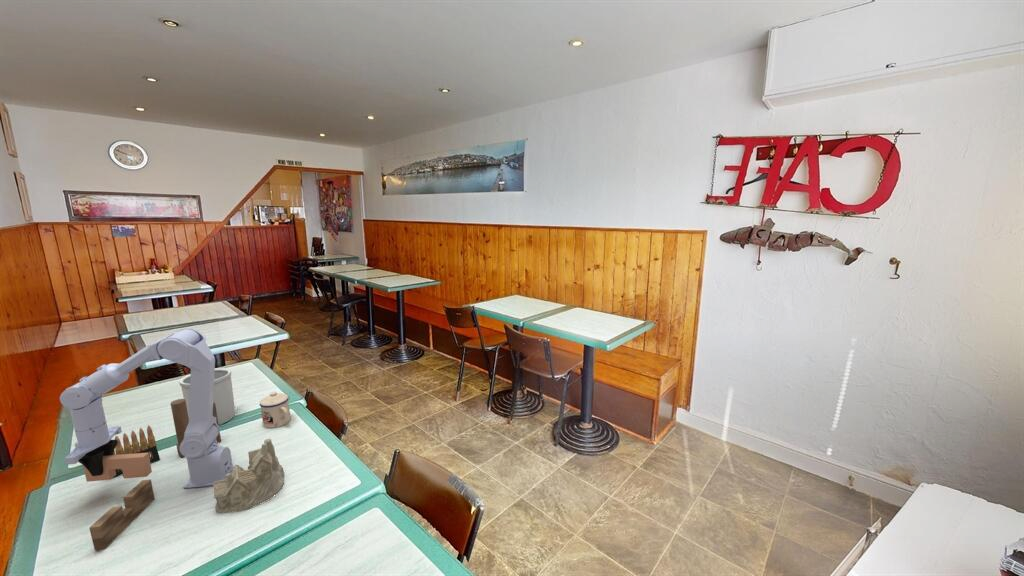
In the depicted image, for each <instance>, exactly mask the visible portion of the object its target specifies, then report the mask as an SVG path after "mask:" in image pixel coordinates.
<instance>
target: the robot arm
mask: <svg viewBox="0 0 1024 576" xmlns="http://www.w3.org/2000/svg"><path fill="white" fill-rule="evenodd" d="M153 359H155V360H157V361H158V360H159V361H160V360H162V359H164V360H166V361H170V362H172V363H175V364H179V365H182V366H184V367H187V368H188V369H190V373H189V374H190V401H189V423H188V426H187V428H186V431H185V433H184V439H183V441H182V443H181V444H180V447H179V450H180V452H181V454H182V455H183V456H184V458H186V462H187V466H188V472H189V478H190V479H189V480H188V481H187V482H186V483H185V484H184V485H183V489H191V488H199V487H200V488H202V487H208V486H213V485H214V482H215V481H219V480H224V479H226V474H229V473H232V470H233V469H234V467H235V465H233V464H234V463H233V459H232V452H231V449H230V447H228V446H221V445H219V443H217V441H216V437H217V436H218V435H219V432H220V431H221V430H220V425H219V426H218V425H217V423H216V417H213V395H214V374H215V368H216V357H215V356H214V353H213V352H212V349H211V348H210V347H209V346H208V343H207V342H206V336H205V334H203V333H201V332H200V331H199V330H196V329H194V328H192V327H184V328H181V329H180V330H177V332H175V333H174V332H173V333H171V334H168V335H166V336H165V337H162V338H160V339H158V340H156V341H154V342H152V343H150V344H148V345H146V346H144V347H143V348H141V349H140V350H139V351H137V352H136V353H135V354H134V353H133V354H132V355H131V356H128V358H126V359H125V360H123V361H122V362H120V363H114V362H113V363H112V362H111V363H109V364H102V365H101V366H98V367H97V368H96V370H97V371H95V372H94V373H92V374H90V375H89V376H83V377H82V378H80V379H79V382H77V383H75V384H73V385H72V386H69V387H67V388H65V390H63V392H61V394H60V396H59V401H60V403H61V405H63V407H65V408H67V409H68V410H69V413H70V417H71V421H72V424H73V425H72V426H73V429H74V434H75V437H76V442H75V443H74V447H75V448H74V449H73V450H72V451H71V452H70V453H68V455H66V456H65V457H64V461H65V464H66V466H67V465H68V466H69V465H75V464H77V463H79V464H81V465H82V466H83V465H84V466H85V467H86V468H87V470H88V471H89V472H90V473H91V475H92V476H99V475H102V474H103V463H102V460H103V456H108V455H113V452H114V450H115V447H116V445H117V443H118V441H117V440H115V439H113V438H114V436H117V435H119V434H121V433H122V432H123V431H122V426H121V425H116V426H115V425H114V426H111V427H109V428H108V422H107V419H106V416H105V411H104V406H103V396H104V395H105V394H107V393H108V392H110V391H112V390H113V389H115V388H116V387H118V386H120V385H121V384H123V383H124V382H126V381H127V380H128V379H129V376H130V373H131V372H132V371H134V370H136V369H137V368H139V367H140V366H142V365H145V364H146V363H147V362H149V361H151V360H153ZM220 433H221V432H220Z"/></svg>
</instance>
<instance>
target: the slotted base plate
mask: <svg viewBox="0 0 1024 576" xmlns="http://www.w3.org/2000/svg"><path fill="white" fill-rule="evenodd" d="M152 484H153V483H152V479H142V480H141V481H139V483H137V484H136V485H135V486H134V487H133V488H131V490H129V491H128V492H127V494H125V495H124V496H123V497H122V499H123V503H124V509H123V505H117V506H112V507H110V508H109V509H108V510H107V511H106V512H105V513H104V514H103V515H102V516H100V517H99V518H98V519H97V520H96V521H95V522H94V523H93V524H91V526H89V533H90V536H91V541H92V544H93V549H94V551H101V550H106V549H107V548H108V547H109V546H110V545H111V544H112V543H113V542H114V540H116V539H117V537H118V536H120V535H121V534H122V532H124V530H125V529H126V528H128V527H129V526H130V525H131V524H132V523H133V522H134V521H135V520H136V519H137V518H138V517H139V516H140V515H141V514H142V513H143V512H144V511H145V510H146V508H148V506H150V505H151V503H152V502H154V501H155V499H156V498H155V494H154V488H153V485H152Z"/></svg>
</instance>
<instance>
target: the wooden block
mask: <svg viewBox="0 0 1024 576" xmlns="http://www.w3.org/2000/svg"><path fill="white" fill-rule="evenodd" d="M170 408H171V414H172V418H173V425H174V428H175V435H176V436H175V437H176V439H177V443H176V450H177V454H178V455H179V456H180V457H181V458H185V456H183V455H182V454H181V452H180V450H179V447H180V444H181V443H182V441H183V439H184V433H185V431H186V428H187V426H188V423H189V417H188V411H187V406H186V400H185V399H184V398H179V399H175V400H173V401H171V402H170ZM213 417H216V423H217V425H218V426H219V427H220V425H219V424H218V417H217V411H216V405H215V403H214V402H213ZM216 441H217V443H218V444H219V443H221V442H222V438H221V432H219V435H218V436H217V437H216Z"/></svg>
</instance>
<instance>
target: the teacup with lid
mask: <svg viewBox="0 0 1024 576" xmlns="http://www.w3.org/2000/svg"><path fill="white" fill-rule="evenodd" d="M289 400H290V398H289V396H288V394H286V393H279V392H276V391H272V392H270V393H269V395H267V396H265V397H263V398H262V399H261V400H259V406H260V410H261V411H260V412H261V419H262V425H263V427H264V428H268V429H274V428H278V427H279V428H280V427H282V426H285V425H286V424H288V423H289V422H290V420H291V411H290V404H289Z"/></svg>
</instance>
